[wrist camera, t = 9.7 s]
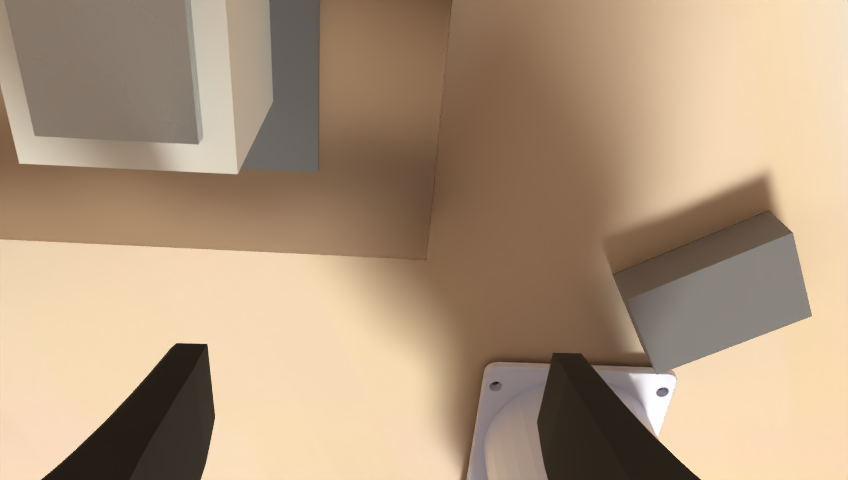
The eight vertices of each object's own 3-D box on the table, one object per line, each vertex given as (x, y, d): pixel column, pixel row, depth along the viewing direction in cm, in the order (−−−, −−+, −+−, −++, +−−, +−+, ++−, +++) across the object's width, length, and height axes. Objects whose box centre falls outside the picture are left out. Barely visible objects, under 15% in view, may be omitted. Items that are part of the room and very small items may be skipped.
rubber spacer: (783, 286, 27) (811, 315, 25) (639, 342, 28) (656, 374, 26) (764, 206, 25) (792, 232, 23) (610, 269, 26) (626, 299, 24)
